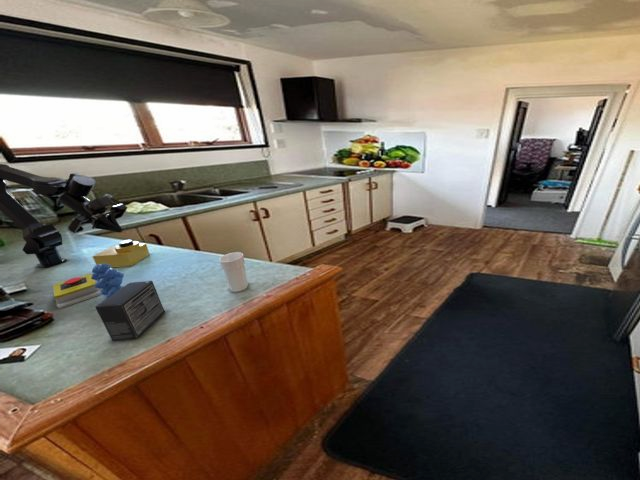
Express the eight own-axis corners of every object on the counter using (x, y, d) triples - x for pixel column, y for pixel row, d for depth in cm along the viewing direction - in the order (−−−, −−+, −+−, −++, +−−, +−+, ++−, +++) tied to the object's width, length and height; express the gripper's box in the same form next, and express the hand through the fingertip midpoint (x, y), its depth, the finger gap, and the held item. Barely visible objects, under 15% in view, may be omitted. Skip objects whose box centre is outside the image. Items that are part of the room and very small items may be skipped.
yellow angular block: (97, 268, 103) (90, 252, 101) (119, 256, 112) (113, 241, 110) (132, 266, 104) (125, 249, 102) (151, 254, 113) (145, 239, 111)
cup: (254, 283, 89) (248, 253, 85) (238, 294, 83) (230, 263, 79) (239, 280, 91) (232, 251, 87) (222, 291, 85) (213, 260, 82)
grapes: (142, 292, 86) (129, 259, 82) (117, 305, 80) (101, 269, 76) (119, 286, 90) (105, 254, 86) (93, 298, 84) (77, 264, 80)
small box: (142, 313, 76) (128, 281, 73) (166, 311, 77) (154, 279, 73) (109, 341, 66) (92, 306, 63) (137, 339, 67) (122, 303, 63)
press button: (117, 248, 104) (115, 244, 104) (125, 244, 108) (124, 240, 107) (128, 247, 104) (126, 243, 104) (136, 243, 108) (134, 239, 108)
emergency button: (91, 268, 94) (95, 282, 85) (96, 279, 95) (101, 294, 86) (50, 279, 87) (50, 296, 78) (56, 291, 89) (57, 309, 80)
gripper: (61, 195, 90) (107, 225, 93) (114, 184, 107) (150, 209, 111) (49, 219, 92) (94, 247, 96) (102, 204, 110) (138, 228, 114)
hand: (121, 231), depth 104 cm, fingers closed
